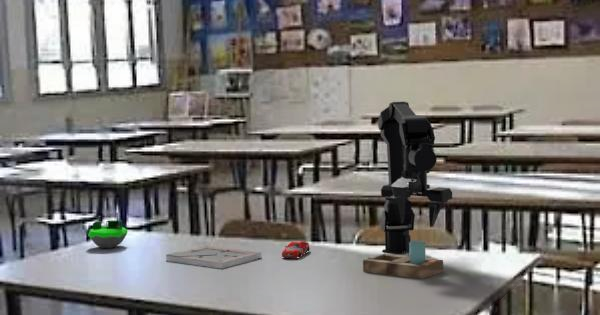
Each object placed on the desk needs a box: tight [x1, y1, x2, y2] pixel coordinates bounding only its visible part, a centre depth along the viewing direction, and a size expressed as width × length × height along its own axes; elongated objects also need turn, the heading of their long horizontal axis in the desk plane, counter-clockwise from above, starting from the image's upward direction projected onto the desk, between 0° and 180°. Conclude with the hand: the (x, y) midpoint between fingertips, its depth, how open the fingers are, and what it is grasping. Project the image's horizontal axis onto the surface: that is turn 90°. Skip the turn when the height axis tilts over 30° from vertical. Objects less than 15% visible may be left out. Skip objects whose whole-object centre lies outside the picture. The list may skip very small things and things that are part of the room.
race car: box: [281, 240, 311, 259], centre depth 272 cm, size 13×5×4 cm, turn 160°
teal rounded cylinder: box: [408, 240, 426, 265], centre depth 242 cm, size 4×4×8 cm
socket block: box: [362, 252, 444, 280], centre depth 245 cm, size 18×10×3 cm, turn 51°
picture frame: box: [165, 245, 262, 269], centre depth 270 cm, size 16×2×22 cm
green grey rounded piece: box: [87, 212, 128, 249], centre depth 294 cm, size 12×12×11 cm
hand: (416, 225), depth 248 cm, fingers open, 9 cm apart
